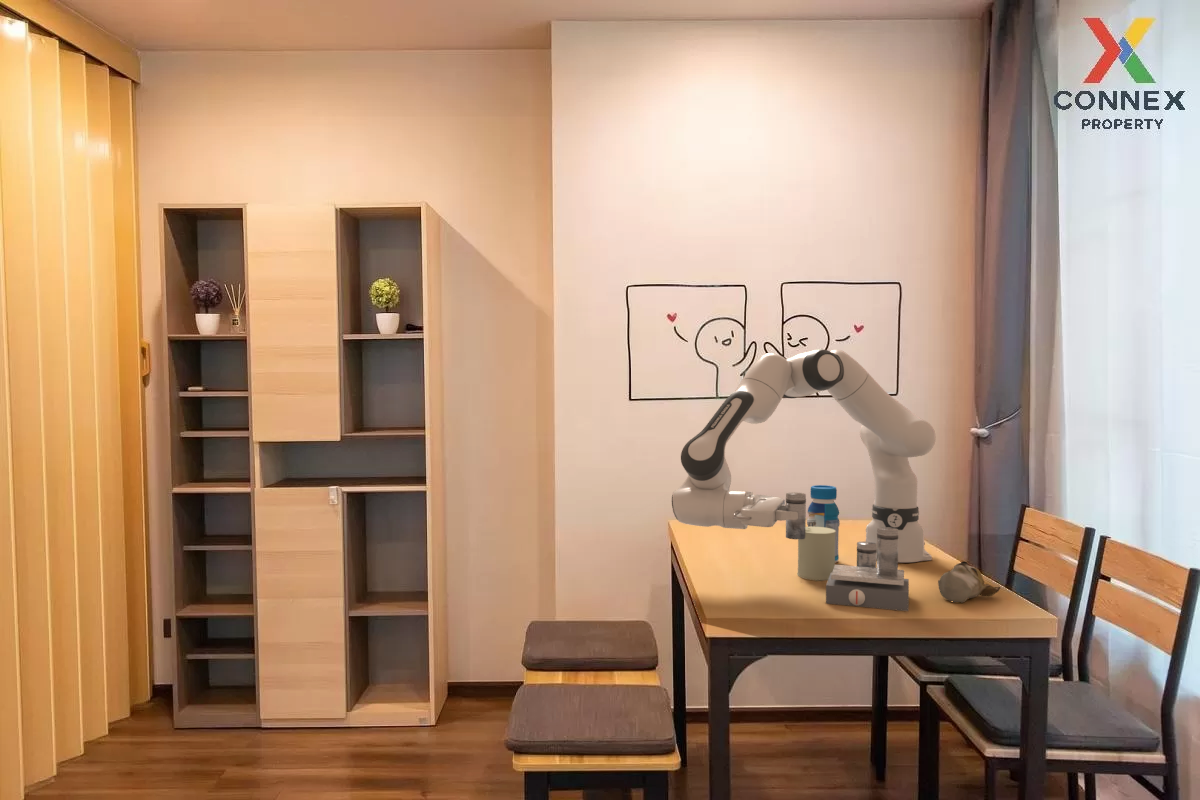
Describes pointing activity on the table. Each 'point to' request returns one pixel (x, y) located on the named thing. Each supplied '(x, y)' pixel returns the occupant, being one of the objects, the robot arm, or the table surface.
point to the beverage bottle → (824, 510)
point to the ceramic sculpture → (964, 584)
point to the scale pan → (865, 575)
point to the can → (816, 553)
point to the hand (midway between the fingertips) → (799, 513)
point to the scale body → (868, 594)
